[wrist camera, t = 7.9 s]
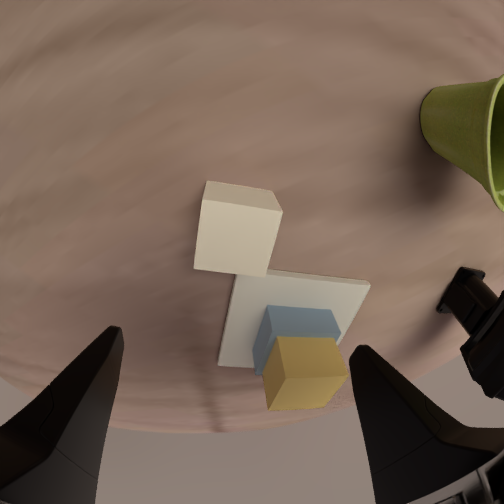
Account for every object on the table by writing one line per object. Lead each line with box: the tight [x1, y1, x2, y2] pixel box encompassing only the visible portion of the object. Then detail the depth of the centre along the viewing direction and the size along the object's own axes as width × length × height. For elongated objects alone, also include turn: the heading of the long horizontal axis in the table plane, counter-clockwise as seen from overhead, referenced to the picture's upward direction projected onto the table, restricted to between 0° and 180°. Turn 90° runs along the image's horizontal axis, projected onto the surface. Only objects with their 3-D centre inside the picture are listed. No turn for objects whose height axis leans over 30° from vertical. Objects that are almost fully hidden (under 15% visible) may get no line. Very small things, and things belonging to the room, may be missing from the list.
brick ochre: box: [262, 336, 349, 411], centre depth 20 cm, size 5×5×4 cm
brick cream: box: [194, 180, 283, 277], centre depth 18 cm, size 4×4×4 cm
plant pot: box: [420, 74, 504, 212], centre depth 13 cm, size 9×9×9 cm
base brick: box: [252, 305, 341, 375], centre depth 23 cm, size 6×6×3 cm
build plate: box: [218, 269, 371, 368], centre depth 25 cm, size 12×12×1 cm
